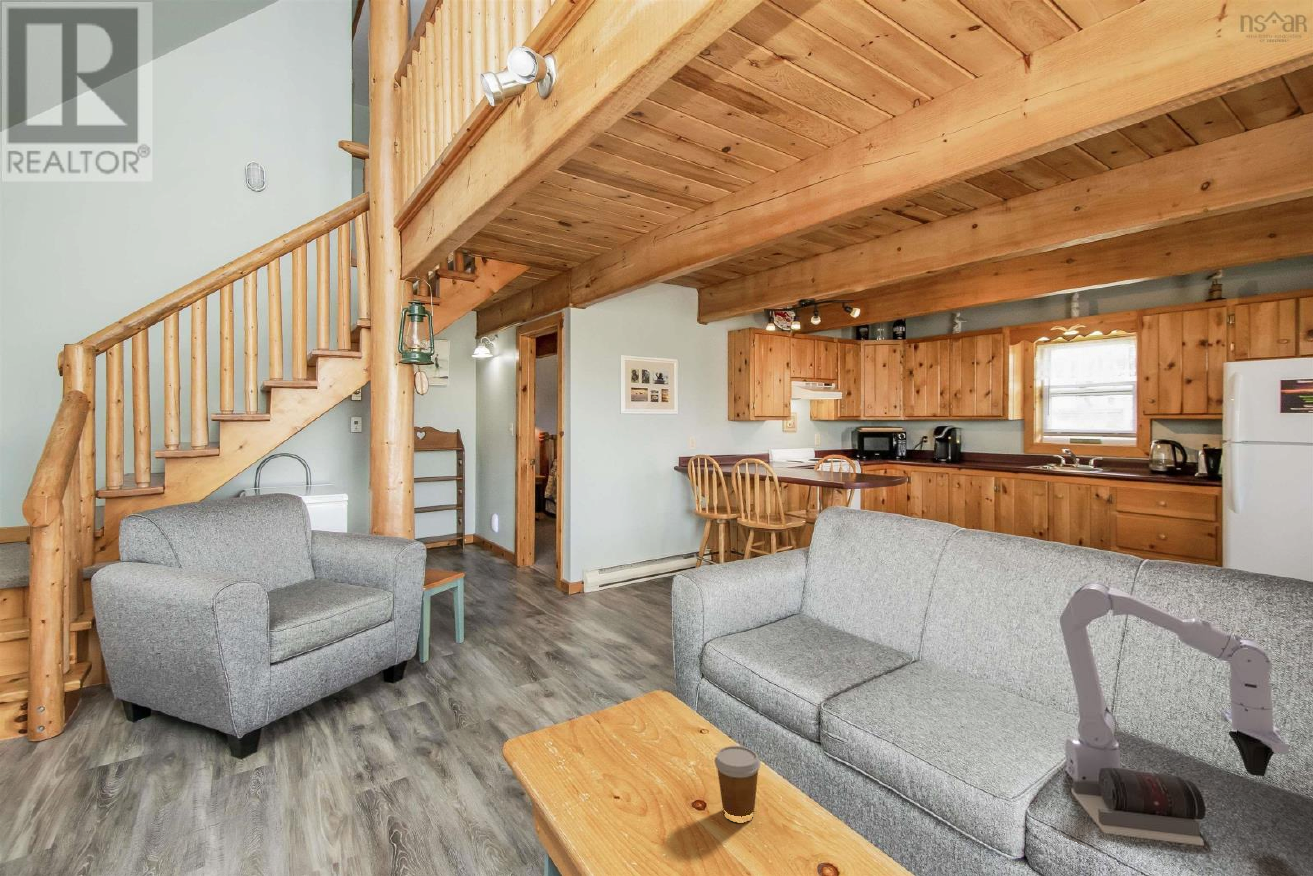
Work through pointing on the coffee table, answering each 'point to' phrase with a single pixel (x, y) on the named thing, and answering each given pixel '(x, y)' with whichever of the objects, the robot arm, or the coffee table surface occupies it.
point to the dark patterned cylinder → (1150, 794)
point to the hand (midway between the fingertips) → (1255, 774)
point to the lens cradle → (1134, 818)
